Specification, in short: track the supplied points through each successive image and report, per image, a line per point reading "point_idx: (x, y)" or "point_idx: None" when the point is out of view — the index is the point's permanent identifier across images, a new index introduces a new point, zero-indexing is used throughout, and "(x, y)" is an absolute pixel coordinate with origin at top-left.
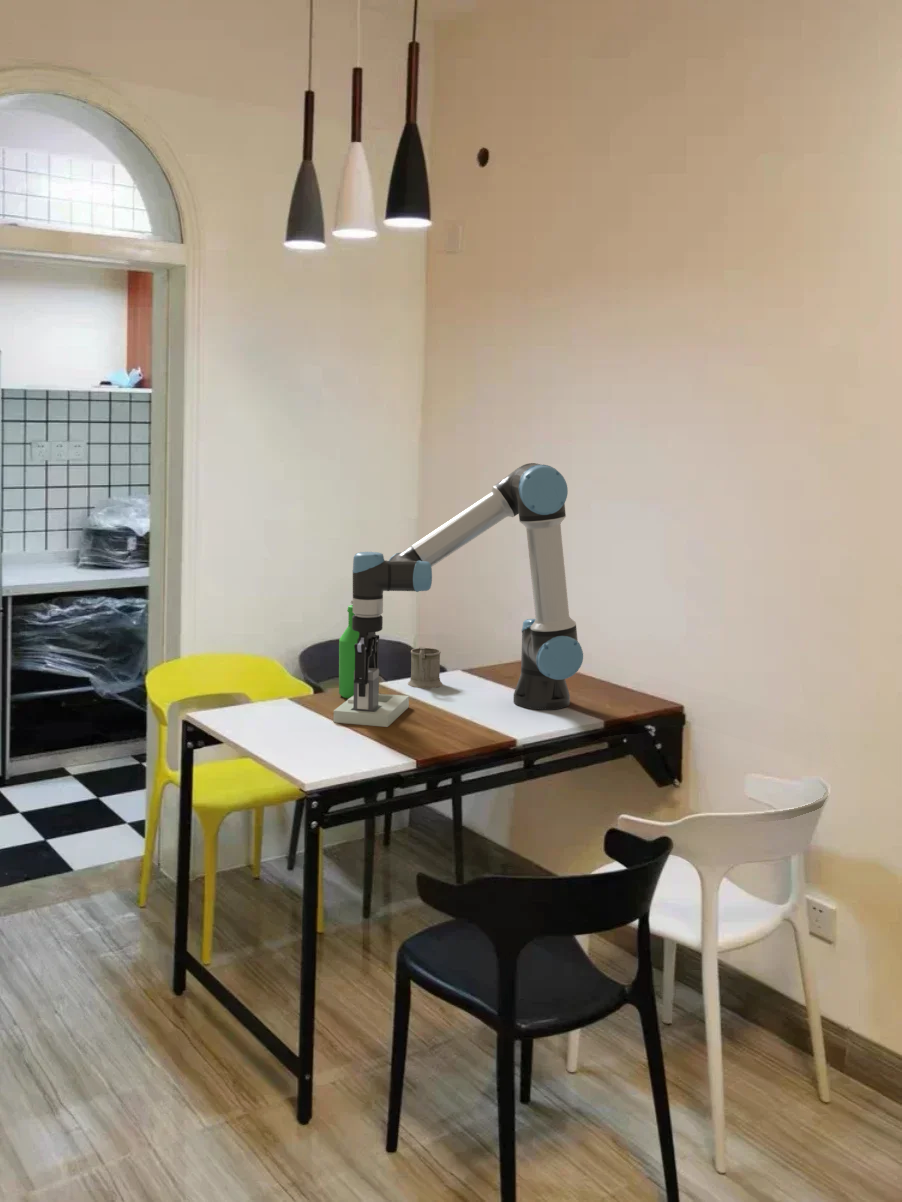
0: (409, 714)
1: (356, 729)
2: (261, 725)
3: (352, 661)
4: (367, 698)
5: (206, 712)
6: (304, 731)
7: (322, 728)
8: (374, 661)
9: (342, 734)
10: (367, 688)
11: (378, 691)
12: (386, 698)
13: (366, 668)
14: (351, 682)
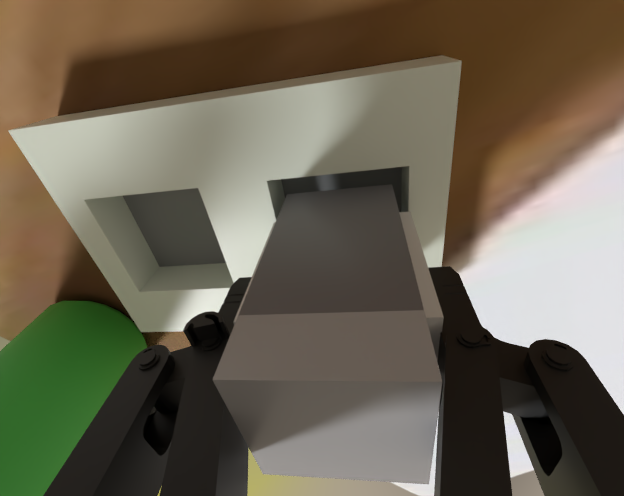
0: (156, 50)
1: (517, 186)
2: (506, 417)
3: (46, 464)
4: (421, 247)
5: (418, 490)
6: (567, 329)
7: (518, 297)
8: (194, 486)
9: (613, 209)
10: (434, 292)
11: (272, 239)
12: (109, 223)
13: (508, 483)
14: (111, 376)
